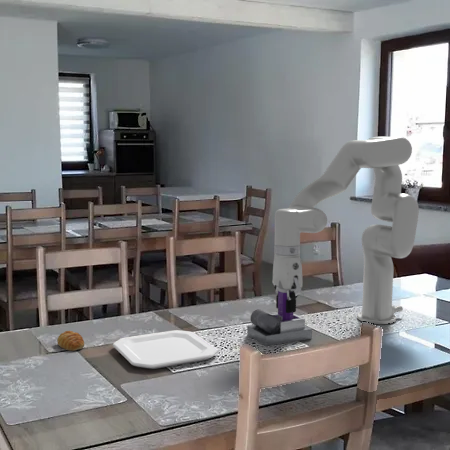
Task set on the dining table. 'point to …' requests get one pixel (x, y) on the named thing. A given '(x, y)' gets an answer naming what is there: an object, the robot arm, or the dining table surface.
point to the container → (283, 304)
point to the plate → (164, 349)
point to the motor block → (277, 329)
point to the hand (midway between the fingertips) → (285, 309)
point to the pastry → (70, 341)
